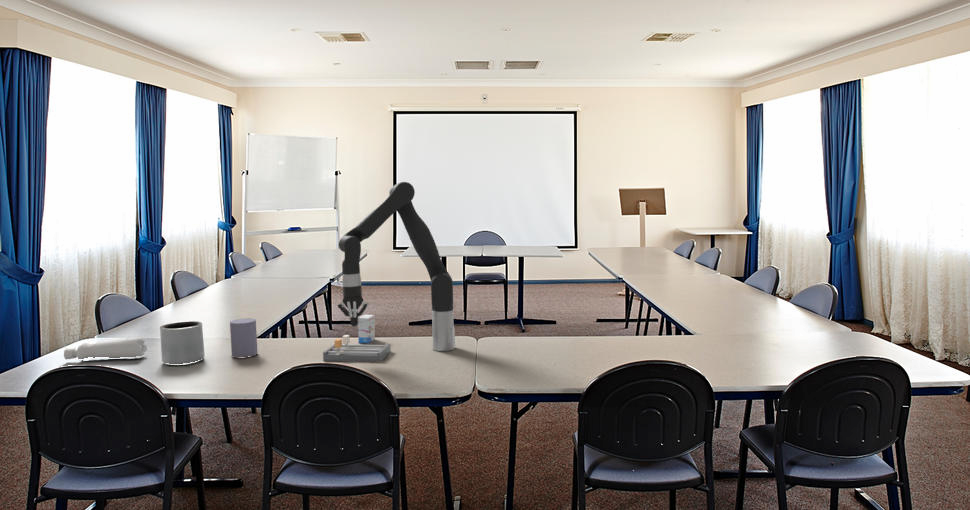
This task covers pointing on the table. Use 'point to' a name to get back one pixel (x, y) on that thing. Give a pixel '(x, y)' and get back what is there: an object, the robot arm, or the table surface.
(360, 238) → the robot arm
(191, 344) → the planter
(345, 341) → the fader rear
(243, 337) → the container
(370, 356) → the console
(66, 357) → the bottle
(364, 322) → the ink box
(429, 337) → the table surface
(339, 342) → the fader front
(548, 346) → the table surface
